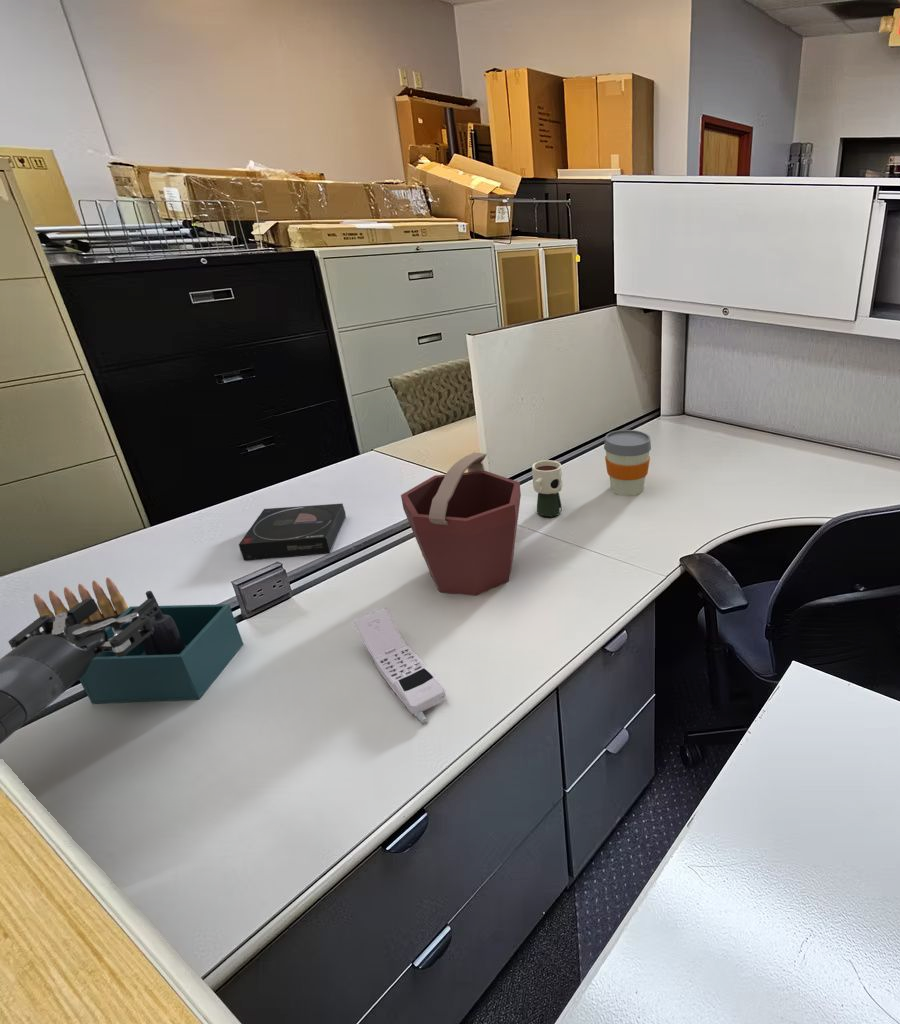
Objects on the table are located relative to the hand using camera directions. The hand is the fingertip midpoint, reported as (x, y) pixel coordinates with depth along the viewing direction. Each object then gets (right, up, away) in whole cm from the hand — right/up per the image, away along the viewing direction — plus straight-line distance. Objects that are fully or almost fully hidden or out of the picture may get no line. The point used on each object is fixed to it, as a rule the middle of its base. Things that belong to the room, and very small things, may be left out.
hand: (123, 603), depth 91 cm
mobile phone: (+36, -14, +12) cm, 40 cm away
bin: (-1, -13, +10) cm, 16 cm away
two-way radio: (-1, -12, +10) cm, 16 cm away
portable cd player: (-5, +8, +49) cm, 50 cm away
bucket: (+39, 0, +40) cm, 55 cm away
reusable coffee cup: (+67, +20, +80) cm, 106 cm away
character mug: (+49, +13, +65) cm, 82 cm away
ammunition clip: (-18, -9, +15) cm, 25 cm away
